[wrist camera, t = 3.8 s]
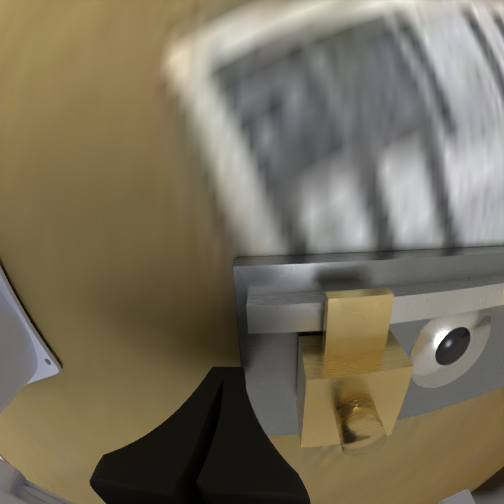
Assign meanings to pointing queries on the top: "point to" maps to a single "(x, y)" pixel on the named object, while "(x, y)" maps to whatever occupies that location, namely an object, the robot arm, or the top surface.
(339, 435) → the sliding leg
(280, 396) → the bolt plate
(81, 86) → the top surface
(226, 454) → the robot arm
